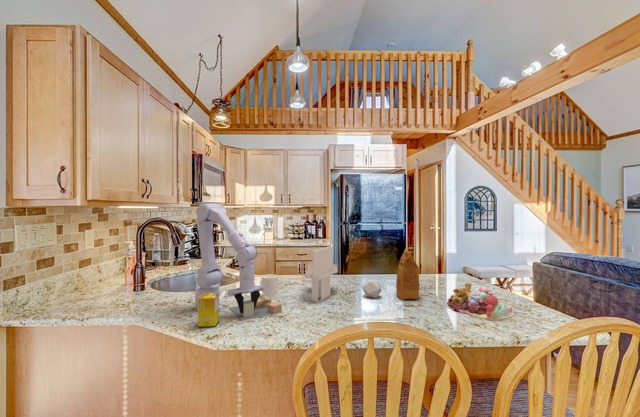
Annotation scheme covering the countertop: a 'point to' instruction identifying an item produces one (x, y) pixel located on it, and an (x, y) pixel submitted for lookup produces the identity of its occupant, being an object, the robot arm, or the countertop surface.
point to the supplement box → (208, 310)
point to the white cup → (270, 285)
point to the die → (372, 288)
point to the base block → (262, 302)
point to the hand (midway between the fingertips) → (247, 311)
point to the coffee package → (407, 277)
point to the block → (274, 307)
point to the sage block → (248, 308)
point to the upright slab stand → (321, 273)
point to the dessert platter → (479, 303)
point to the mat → (257, 314)
